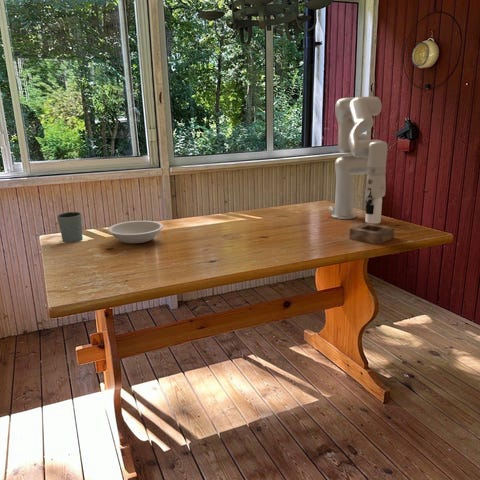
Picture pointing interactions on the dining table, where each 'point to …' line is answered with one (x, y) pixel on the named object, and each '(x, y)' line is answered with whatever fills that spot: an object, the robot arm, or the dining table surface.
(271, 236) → the dining table surface
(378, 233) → the socket block
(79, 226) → the grey green cup
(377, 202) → the can
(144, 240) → the soup bowl
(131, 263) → the dining table surface
